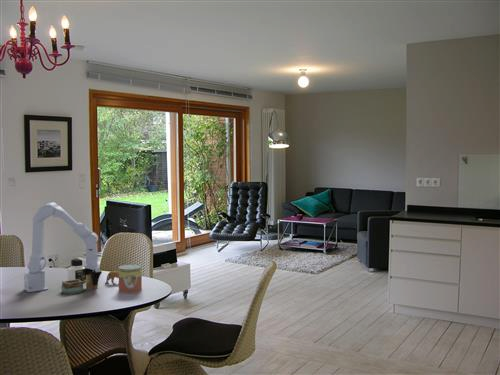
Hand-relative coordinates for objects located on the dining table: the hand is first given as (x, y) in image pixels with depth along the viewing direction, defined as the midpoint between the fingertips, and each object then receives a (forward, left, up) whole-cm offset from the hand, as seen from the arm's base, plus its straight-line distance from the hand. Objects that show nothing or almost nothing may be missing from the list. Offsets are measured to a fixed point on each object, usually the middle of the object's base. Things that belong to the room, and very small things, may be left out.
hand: (92, 283), depth 260 cm
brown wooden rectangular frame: (-10, 0, 0) cm, 10 cm away
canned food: (+13, -16, -2) cm, 21 cm away
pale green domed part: (-10, 0, -2) cm, 10 cm away
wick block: (0, 0, -2) cm, 2 cm away
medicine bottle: (0, +19, -2) cm, 19 cm away
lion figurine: (+15, +2, -2) cm, 16 cm away
